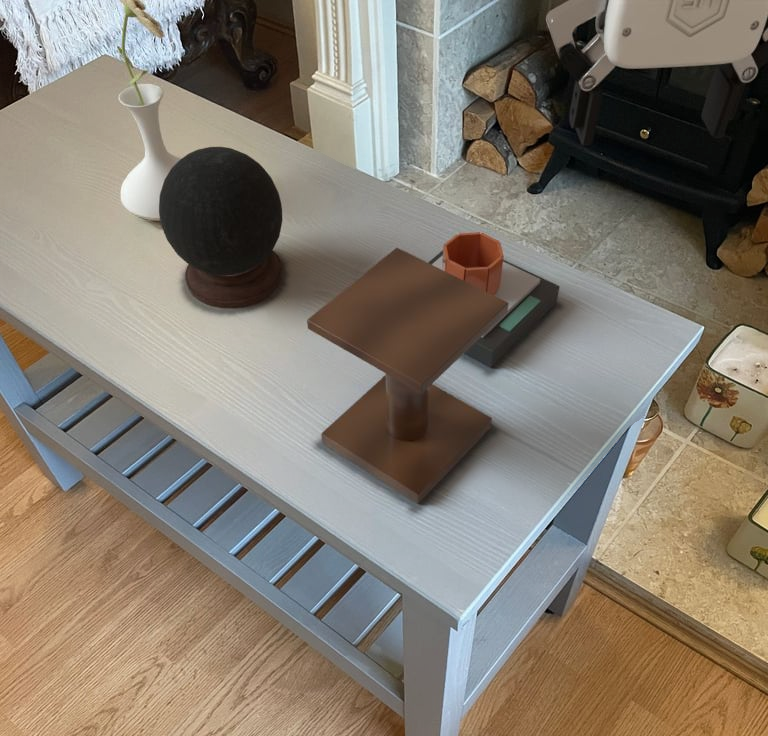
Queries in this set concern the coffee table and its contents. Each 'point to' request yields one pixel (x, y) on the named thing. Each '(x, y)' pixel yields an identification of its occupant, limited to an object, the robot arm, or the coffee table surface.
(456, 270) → the bowl
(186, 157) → the black orb ornament
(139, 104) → the flower in vase
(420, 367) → the stand
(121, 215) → the coffee table surface
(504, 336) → the scale
